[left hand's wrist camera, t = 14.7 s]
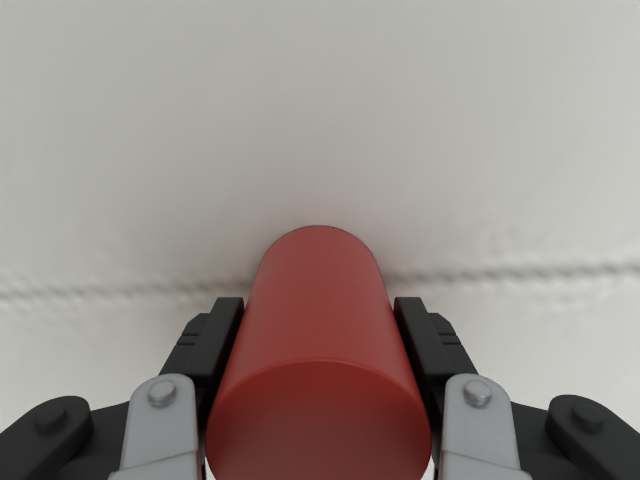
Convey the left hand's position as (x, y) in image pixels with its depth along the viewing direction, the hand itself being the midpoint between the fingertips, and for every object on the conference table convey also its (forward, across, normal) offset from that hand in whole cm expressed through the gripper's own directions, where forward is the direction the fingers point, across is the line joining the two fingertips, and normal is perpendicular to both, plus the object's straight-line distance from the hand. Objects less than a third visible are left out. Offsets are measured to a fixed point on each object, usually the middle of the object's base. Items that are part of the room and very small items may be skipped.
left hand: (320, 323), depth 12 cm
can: (+3, 0, 0) cm, 3 cm away
